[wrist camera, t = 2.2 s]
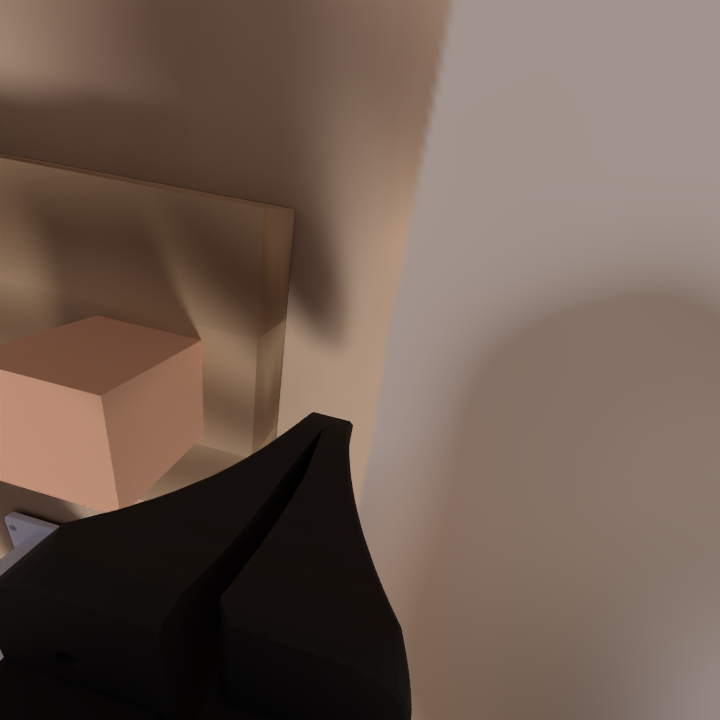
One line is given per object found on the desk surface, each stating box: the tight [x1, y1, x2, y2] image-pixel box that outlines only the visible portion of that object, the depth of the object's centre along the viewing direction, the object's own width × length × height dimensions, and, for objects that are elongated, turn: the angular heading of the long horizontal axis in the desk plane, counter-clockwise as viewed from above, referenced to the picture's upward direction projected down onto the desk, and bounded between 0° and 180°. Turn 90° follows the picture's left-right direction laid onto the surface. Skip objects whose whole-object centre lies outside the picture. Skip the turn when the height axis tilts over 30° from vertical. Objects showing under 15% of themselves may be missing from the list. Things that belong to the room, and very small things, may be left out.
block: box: [0, 315, 204, 512], centre depth 11 cm, size 4×4×4 cm
